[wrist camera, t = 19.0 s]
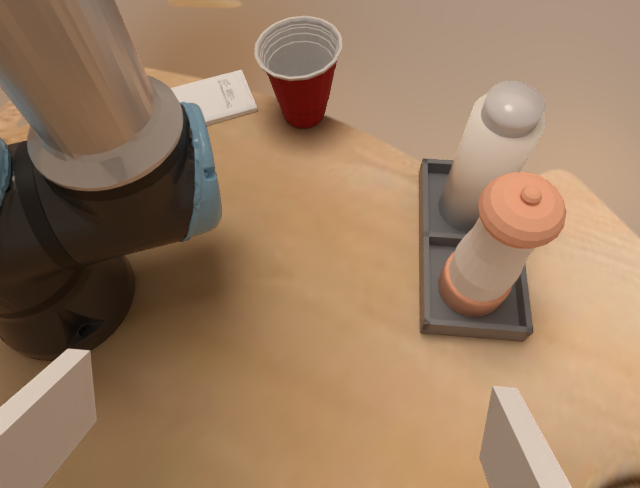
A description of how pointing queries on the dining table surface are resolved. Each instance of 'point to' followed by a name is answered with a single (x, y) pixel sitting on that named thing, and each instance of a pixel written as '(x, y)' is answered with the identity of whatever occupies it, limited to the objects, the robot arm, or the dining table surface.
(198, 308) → the dining table surface
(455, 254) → the pepper shaker
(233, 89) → the external hard drive
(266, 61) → the plastic cup
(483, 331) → the shaker caddy
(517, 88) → the salt shaker
